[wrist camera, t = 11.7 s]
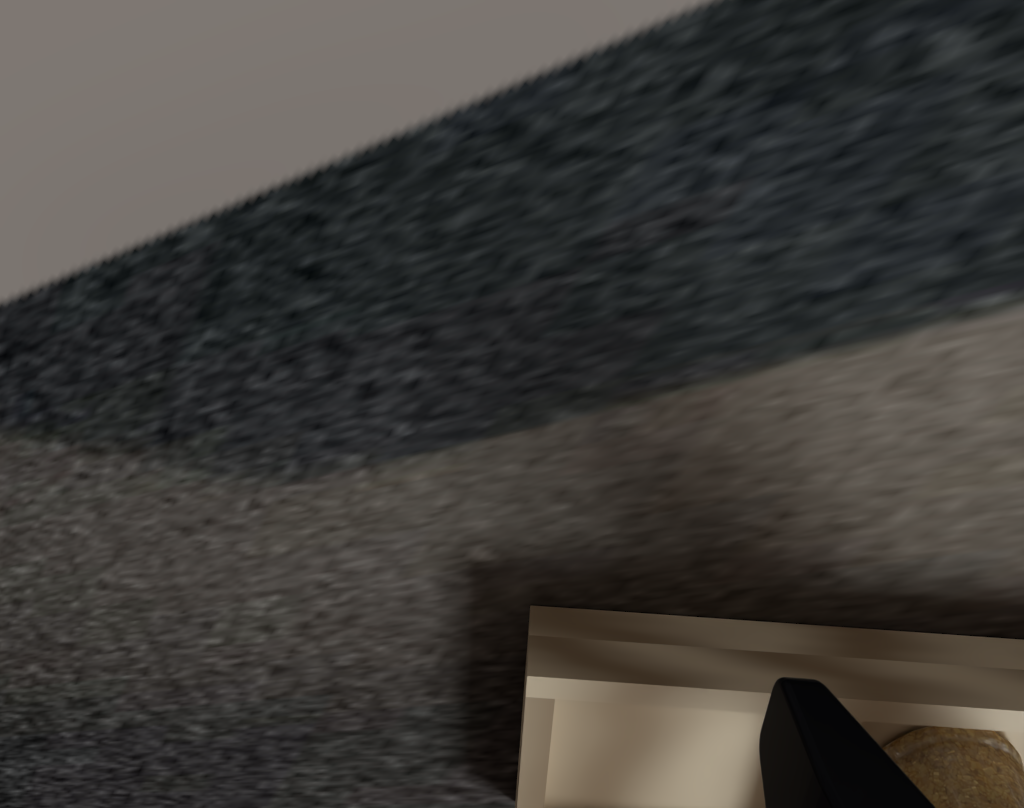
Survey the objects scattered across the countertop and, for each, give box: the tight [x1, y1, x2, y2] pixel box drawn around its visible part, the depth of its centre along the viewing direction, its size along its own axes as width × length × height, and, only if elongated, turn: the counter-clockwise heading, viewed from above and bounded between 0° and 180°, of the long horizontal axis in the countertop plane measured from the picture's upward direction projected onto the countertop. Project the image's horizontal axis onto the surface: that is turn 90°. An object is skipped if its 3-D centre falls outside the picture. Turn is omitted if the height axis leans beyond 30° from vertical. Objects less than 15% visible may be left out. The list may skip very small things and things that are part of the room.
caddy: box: [515, 605, 1024, 808], centre depth 26 cm, size 17×9×3 cm, turn 87°
